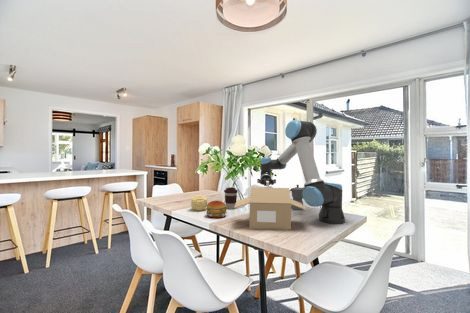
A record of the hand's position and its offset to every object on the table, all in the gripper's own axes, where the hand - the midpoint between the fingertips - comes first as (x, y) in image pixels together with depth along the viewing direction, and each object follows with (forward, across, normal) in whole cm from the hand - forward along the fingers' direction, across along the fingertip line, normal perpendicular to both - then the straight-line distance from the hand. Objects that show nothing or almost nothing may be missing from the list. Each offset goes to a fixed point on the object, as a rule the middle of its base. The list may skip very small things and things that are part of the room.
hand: (267, 184), depth 144 cm
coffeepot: (-33, -25, -22) cm, 47 cm away
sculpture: (-21, +48, -23) cm, 57 cm away
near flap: (+15, -1, -4) cm, 15 cm away
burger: (-6, +32, -23) cm, 40 cm away
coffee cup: (-29, +26, -23) cm, 45 cm away
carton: (+4, -1, -22) cm, 23 cm away
